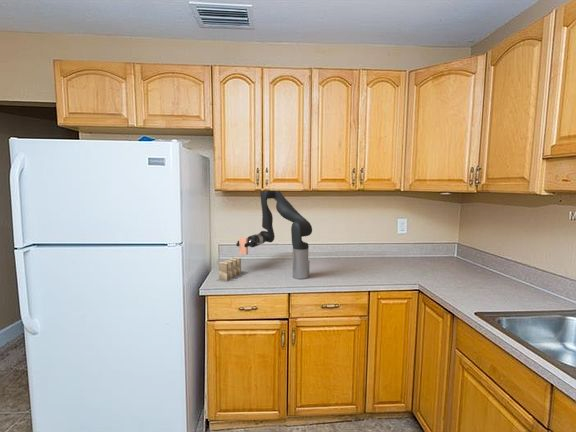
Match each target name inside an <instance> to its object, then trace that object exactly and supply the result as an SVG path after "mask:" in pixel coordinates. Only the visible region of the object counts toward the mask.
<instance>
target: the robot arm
mask: <svg viewBox="0 0 576 432" xmlns="http://www.w3.org/2000/svg"><path fill="white" fill-rule="evenodd" d="M259 194H260V195H259V196H260V205H261V211H262V212H261V213H262V215H261V216H262V220H261V223H262V224H261V227H262V228H263V229H264V230H261V231H260V232H259V233H255V234H252V235H250V236H247V238H248V243H245V247H248V248H255V247H258V246H260V245H262V244H264V243H273V242H274V240H275V232H274V228H273V220H274V219H273V213H272V211H271V210H270V207H269V205H268V200H271V199H274V200H275V202H276V204H275V208H276V211H277V213H279V215H280V217H282V218H283V219H285V220H287V221H289V222H291V228H290V233H291V243H292V278H293V279H297V280H304V279H308V278H309V277H310V263H311V262H310V260H309V246H310V245H309V243H308V242H306V241H304V240H303V238H302V237H308V236H311V234H312V233H313V228H312V225H311V223H310V222H309V221H308V220H307V219H306V218H305V217H304V216H303V215H301V214H300V213H299V212H298V211H297V209H296V208H295V207H294V206H293V205H292V204H291V202H289V200H288V199H286V198H285V196H284V195H283V193H282V192H281V191H280V190H279V191H260V192H259ZM236 247H239V240H237V241H236Z"/></svg>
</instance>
